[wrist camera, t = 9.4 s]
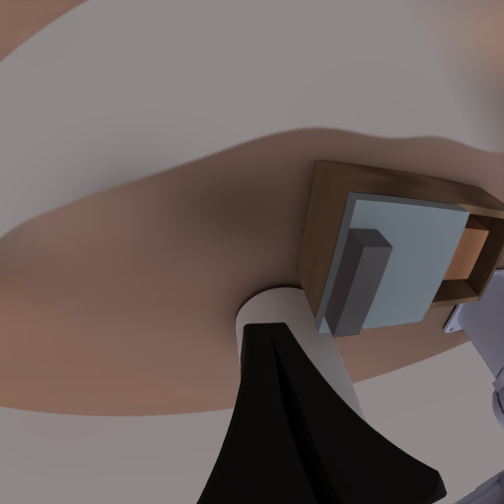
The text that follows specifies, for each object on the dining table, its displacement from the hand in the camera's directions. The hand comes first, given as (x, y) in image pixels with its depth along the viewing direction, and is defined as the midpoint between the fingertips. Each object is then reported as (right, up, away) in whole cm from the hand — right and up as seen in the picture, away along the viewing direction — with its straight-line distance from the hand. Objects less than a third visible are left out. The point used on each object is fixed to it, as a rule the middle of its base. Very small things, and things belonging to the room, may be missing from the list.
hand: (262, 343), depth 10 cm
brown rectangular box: (+10, +5, +10) cm, 15 cm away
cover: (+7, +2, +5) cm, 9 cm away
